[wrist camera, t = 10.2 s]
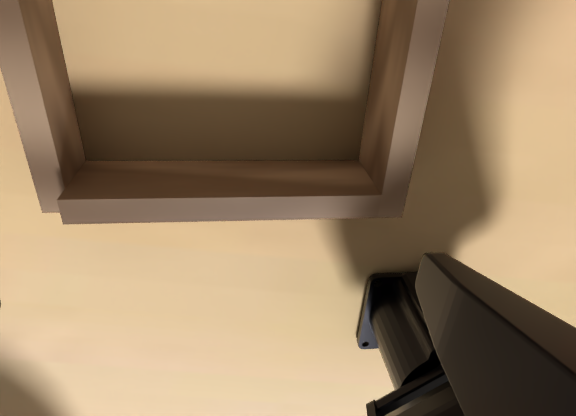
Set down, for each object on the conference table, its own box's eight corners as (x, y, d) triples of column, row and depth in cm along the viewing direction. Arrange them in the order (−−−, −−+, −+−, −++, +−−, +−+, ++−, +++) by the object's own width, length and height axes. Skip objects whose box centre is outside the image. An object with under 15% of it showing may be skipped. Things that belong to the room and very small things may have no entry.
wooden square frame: (376, 180, 23) (401, 217, 20) (65, 182, 21) (33, 224, 18) (447, -230, 15) (512, -288, 11) (-52, -292, 13) (-156, -388, 9)
